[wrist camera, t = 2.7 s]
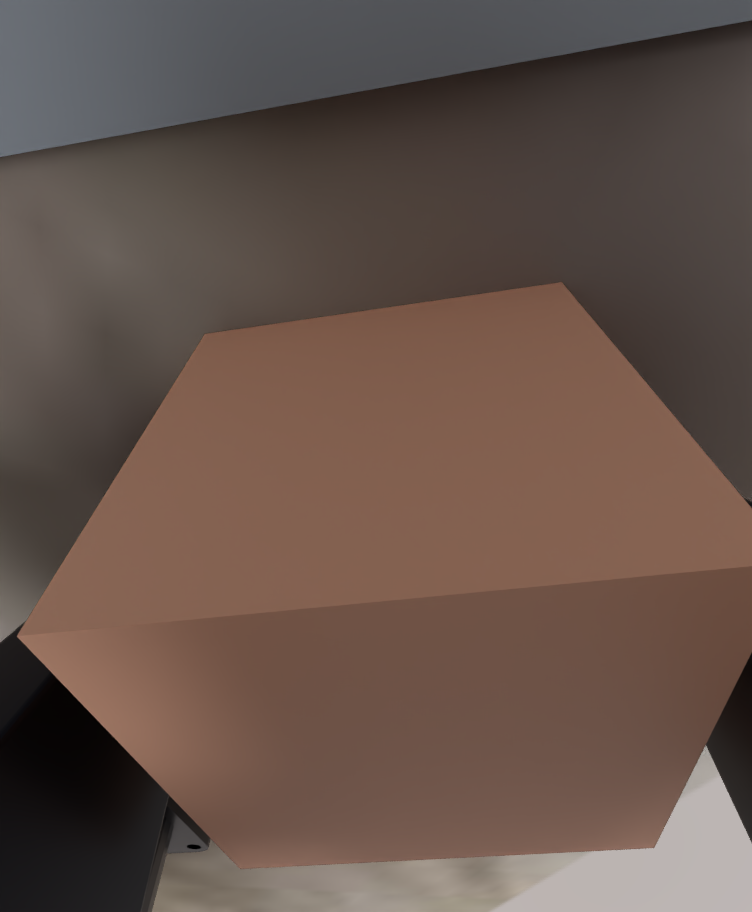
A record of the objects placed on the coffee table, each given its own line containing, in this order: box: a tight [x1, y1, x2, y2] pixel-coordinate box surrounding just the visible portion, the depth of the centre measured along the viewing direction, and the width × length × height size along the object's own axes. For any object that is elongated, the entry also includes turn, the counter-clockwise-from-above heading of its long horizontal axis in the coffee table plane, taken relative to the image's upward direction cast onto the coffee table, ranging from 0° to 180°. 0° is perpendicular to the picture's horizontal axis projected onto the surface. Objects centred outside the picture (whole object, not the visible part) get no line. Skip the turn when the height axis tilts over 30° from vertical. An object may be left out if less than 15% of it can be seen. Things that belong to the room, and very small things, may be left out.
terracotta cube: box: [17, 282, 752, 869], centre depth 7 cm, size 5×5×5 cm
